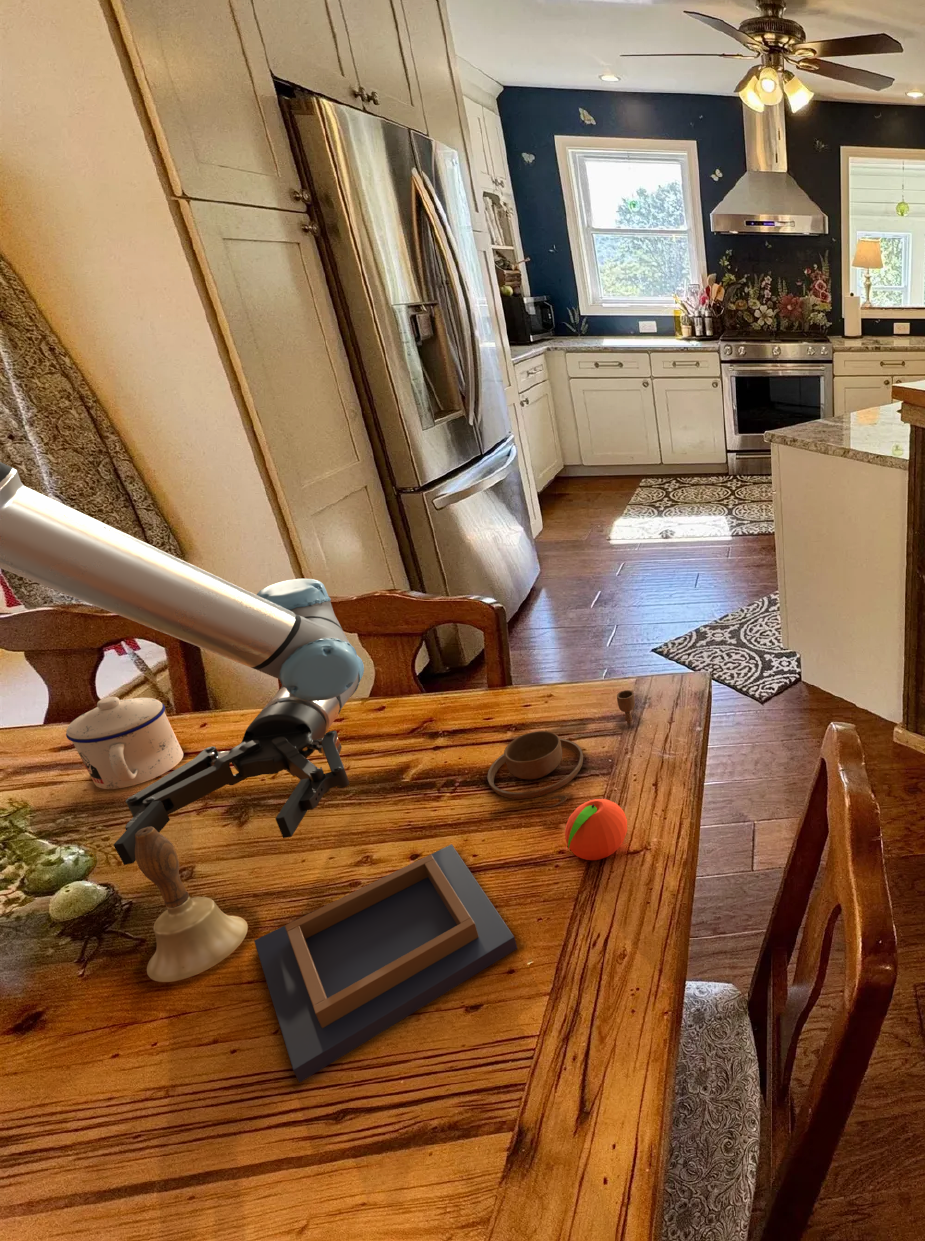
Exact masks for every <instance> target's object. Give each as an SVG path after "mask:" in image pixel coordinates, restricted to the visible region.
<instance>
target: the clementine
mask: <svg viewBox="0 0 925 1241" xmlns="http://www.w3.org/2000/svg"><path fill="white" fill-rule="evenodd" d="M627 833H628V819H627V817H626V814H625V812H624V810H623V809H622V808H621V807H620V805H618V803H616V802H614V801H611V800H609V799H606V798H595V799H591V800H588V801H585V802H583V803H582V804H580V805H579V806H578V807H576V808H575V809H574V810H573V812H572V813H571V814H570V815H569V817H568V819H567V822H566V824H565V829H564V839H565V842H566V845H567V850H570V851H571V852H572V853H573V854H574V856H576V857H578V858H579V859H583V860H586V861H600V860H602V859H606V858H608V857H609V856H611V855H613V854H614V853H615V852H616V851H617V850H618V849H619V848H620V847H621V846H622V844H624V841H625V839H626V836H627Z"/></svg>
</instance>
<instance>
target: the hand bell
mask: <svg viewBox="0 0 925 1241" xmlns="http://www.w3.org/2000/svg"><path fill="white" fill-rule="evenodd" d="M135 838H136V845H135V858H136V861H135V863H136V864H137V867H138V869H139V870H140V871H141V873H142V874H143V876H145V877H146V878H147V879H148V880H149V881H151V882H152V883H154V884H155V886H157V888H158V890H159V892H160V895H161V898H162V899H163V901H164V905H165V907H166V909H165V910H164V911H163V912H162V913H161V914H160V915H159V916H158V917H157V918H156V920H155V921H154V924H153V933H154V935H155V941H156V949H155V952H154V954H153V955H152V956H151V957H150V959H149V961H148V963H147V966H146V974H147V976H148V978H150V979H151V980H152V981H155V982H159V983H172V982H177V981H181V980H185V979H189V978H191V977H194V976H196V975H199V974H201V973H204V972H205V971H207V970H209V969H211V968H213V967H214V966H216V965H218V964H219V963H221V962H222V961H224V960H225V959H226V958H228V957H229V956H230V955H231V954H232V953H234V951H236V949H238V948H239V946H240V945H241V944H242V943H243V941H244V940H245V938H246V936H247V933H248V929H249V927H248V926H249V925H248V922H247V920H246V919H244V918H243V917H240V916H237V915H229V914H226V913H225V912H223V911H222V910H221V908H220V907H219V906H218V905H217V903H216V902H215V901H214V900H213V899H212V898H210V897H207V896H196V897H190V893H189V891H188V890H187V888H186V886H185V884H184V883H183V881H182V879H181V876H180V860H179V855H178V852H177V849H176V847H175V846H174V844H173V843H172V842H171V840H169V838H167V837H166V836H164V834H161V833H160V832H158V831H157V830H156V829H155V828H154V827H146V828H142V829H140V830H139V831H138V832H137V833H136V834H135Z"/></svg>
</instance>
